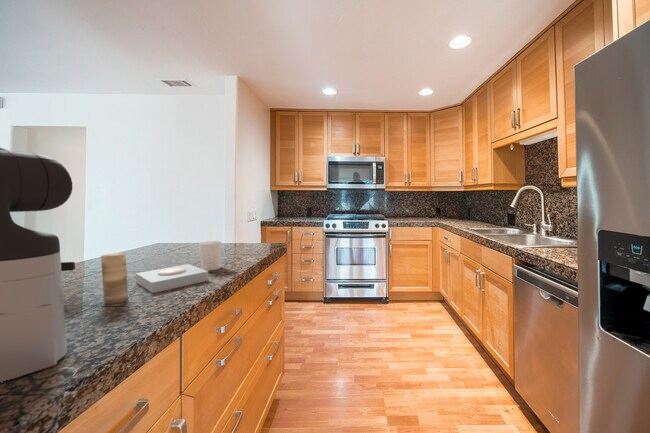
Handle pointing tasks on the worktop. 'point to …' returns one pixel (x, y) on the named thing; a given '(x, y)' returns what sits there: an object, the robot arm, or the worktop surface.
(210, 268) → the white cup
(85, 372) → the worktop surface
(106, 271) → the maple pillar
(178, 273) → the light grey plinth
